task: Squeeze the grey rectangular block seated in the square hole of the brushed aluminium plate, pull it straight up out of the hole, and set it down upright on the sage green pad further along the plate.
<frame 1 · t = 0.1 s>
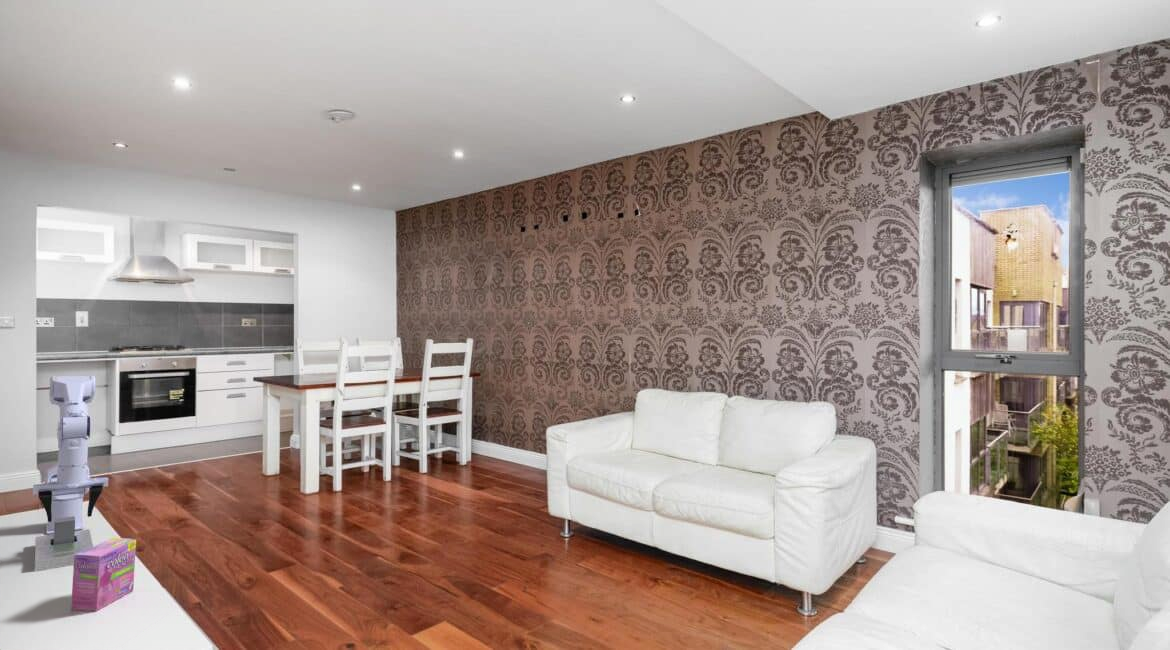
hand: (69, 518, 154), 10 cm above the table, tool pointing down, fingers open, 7 cm apart
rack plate: (63, 553, 157), on the table
box: (103, 601, 133), on the table
grey rectangular block: (63, 550, 159), resting in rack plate
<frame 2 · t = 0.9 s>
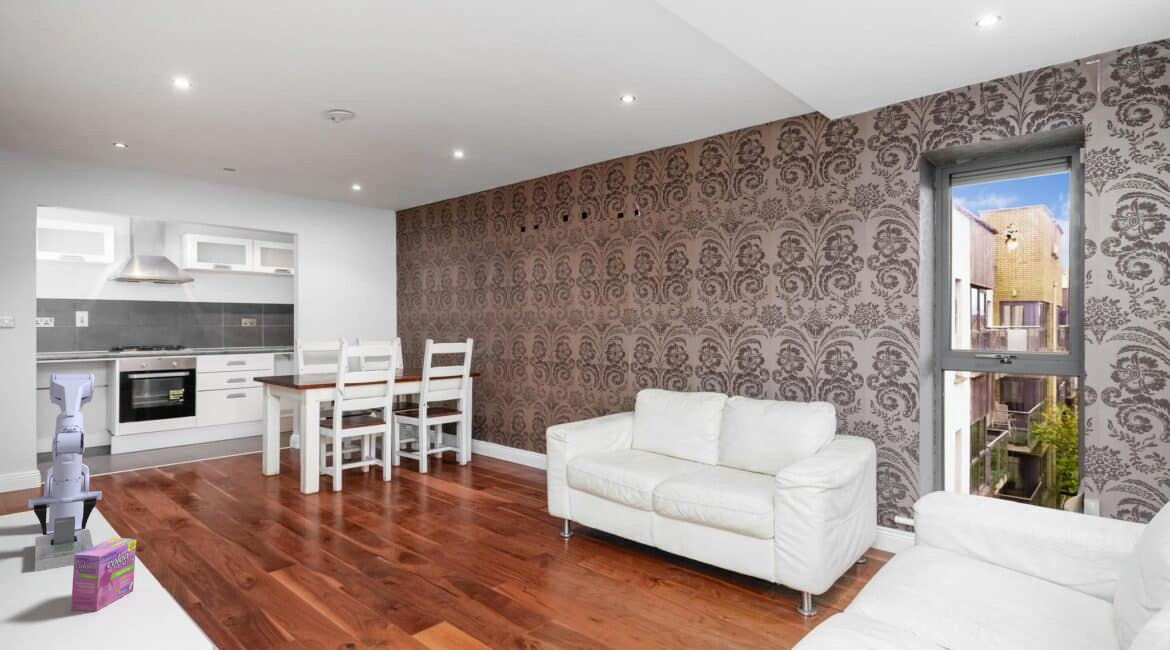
hand: (64, 530, 159), 5 cm above the table, tool pointing down, fingers open, 7 cm apart
nothing on the table moved.
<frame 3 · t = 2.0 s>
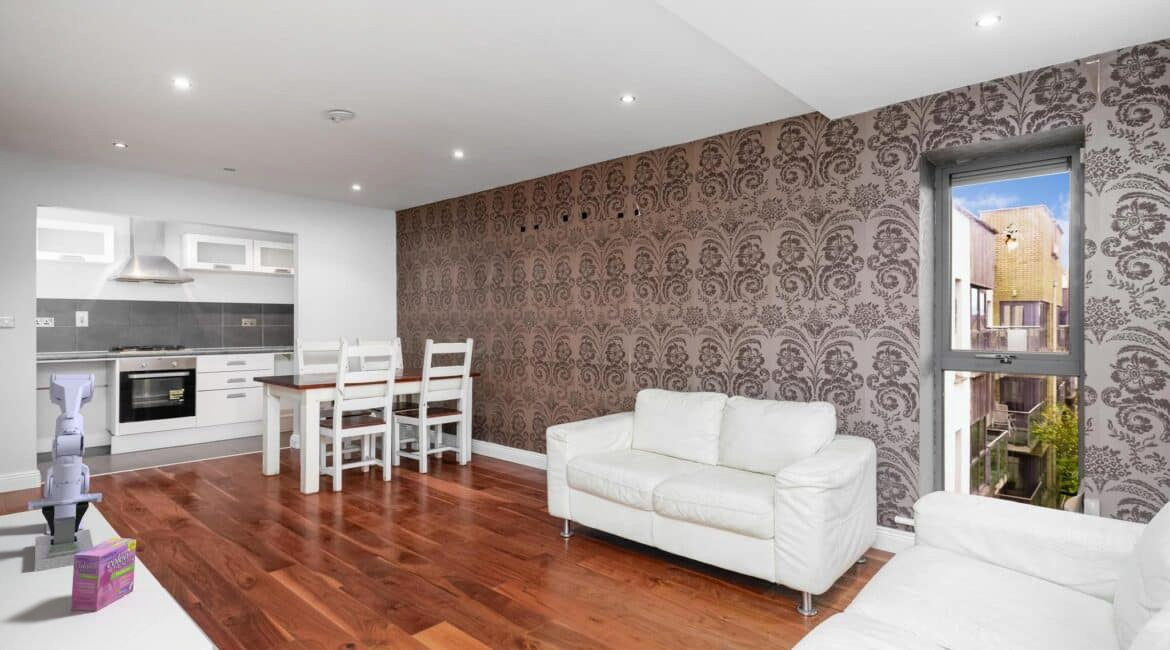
hand: (64, 533, 159), 4 cm above the table, tool pointing down, fingers closed on grey rectangular block, 4 cm apart
grey rectangular block: (63, 550, 159), resting in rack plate, touching gripper
everything else where it was.
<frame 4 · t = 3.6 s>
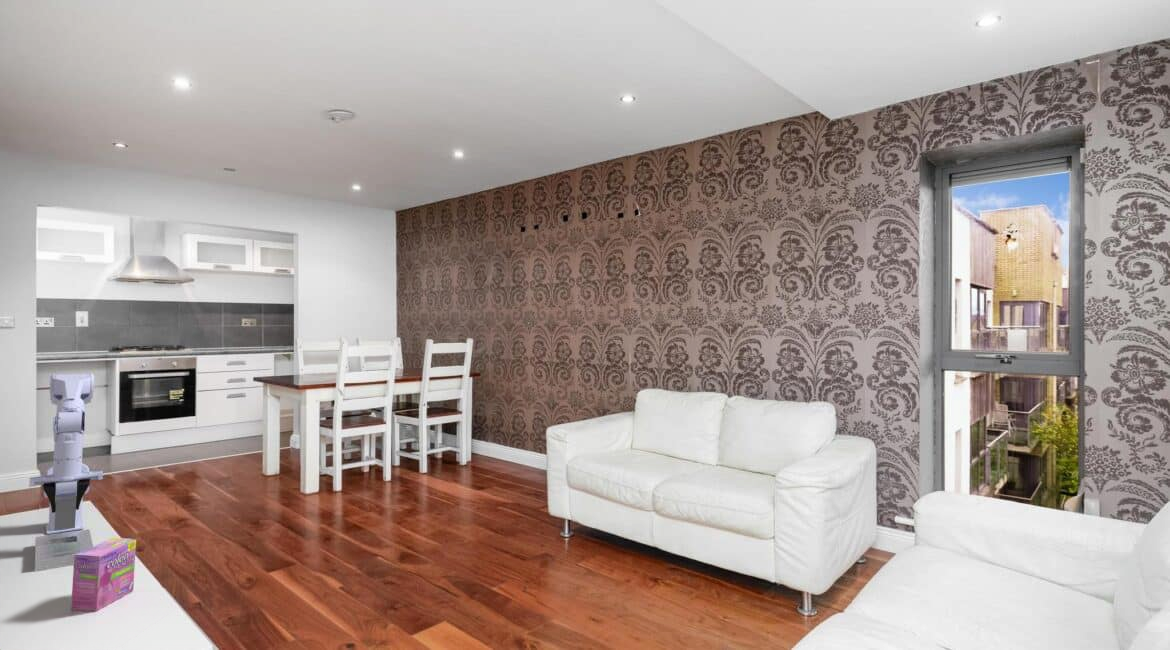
hand: (65, 510, 159), 10 cm above the table, tool pointing down, fingers closed on grey rectangular block, 4 cm apart
grey rectangular block: (64, 527, 159), point 6 cm above the table, touching gripper
everything else where it was.
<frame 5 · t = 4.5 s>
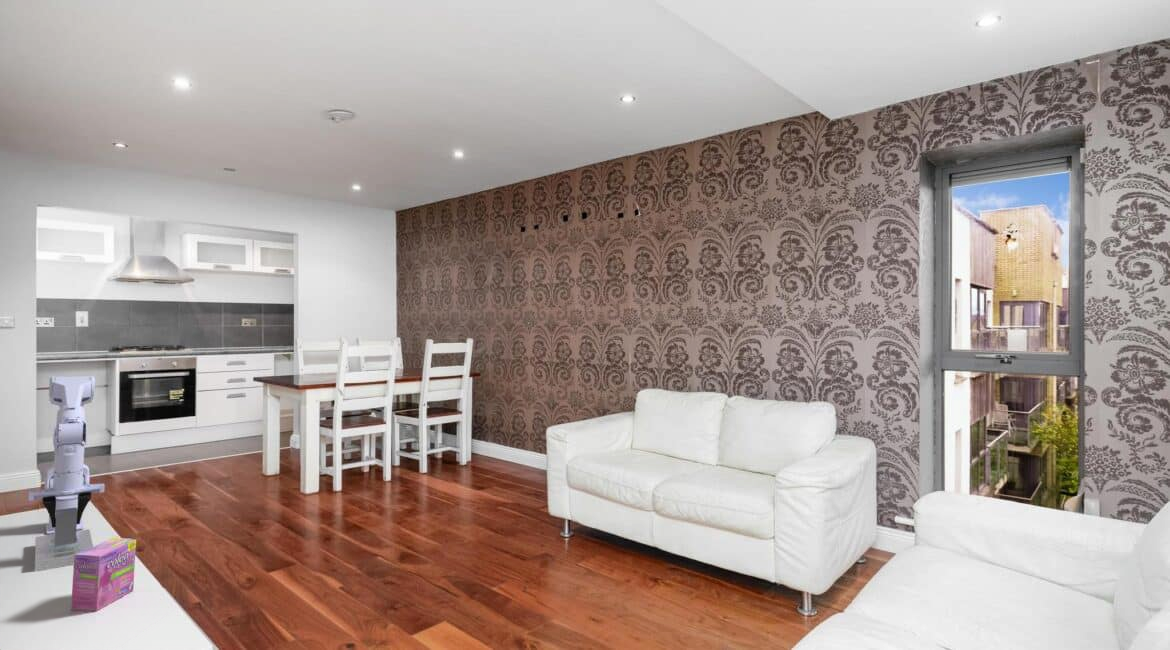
hand: (65, 524, 154), 8 cm above the table, tool pointing down, fingers closed on grey rectangular block, 4 cm apart
grey rectangular block: (64, 542, 154), point 4 cm above the table, touching gripper
everything else where it was.
when the fingers open (8 cm above the table, at t = 5.2 s): grey rectangular block drops 1 cm, resting on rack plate.
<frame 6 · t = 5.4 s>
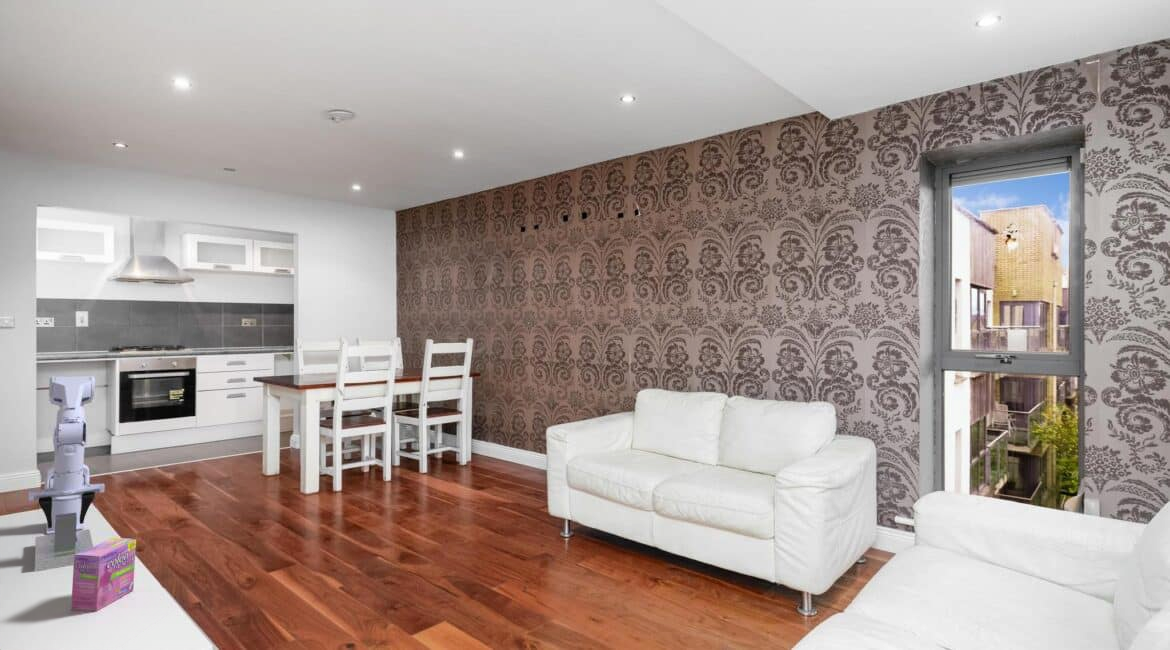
hand: (65, 524, 154), 9 cm above the table, tool pointing down, fingers open, 5 cm apart
grey rectangular block: (64, 547, 154), point 3 cm above the table, touching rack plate
everything else where it was.
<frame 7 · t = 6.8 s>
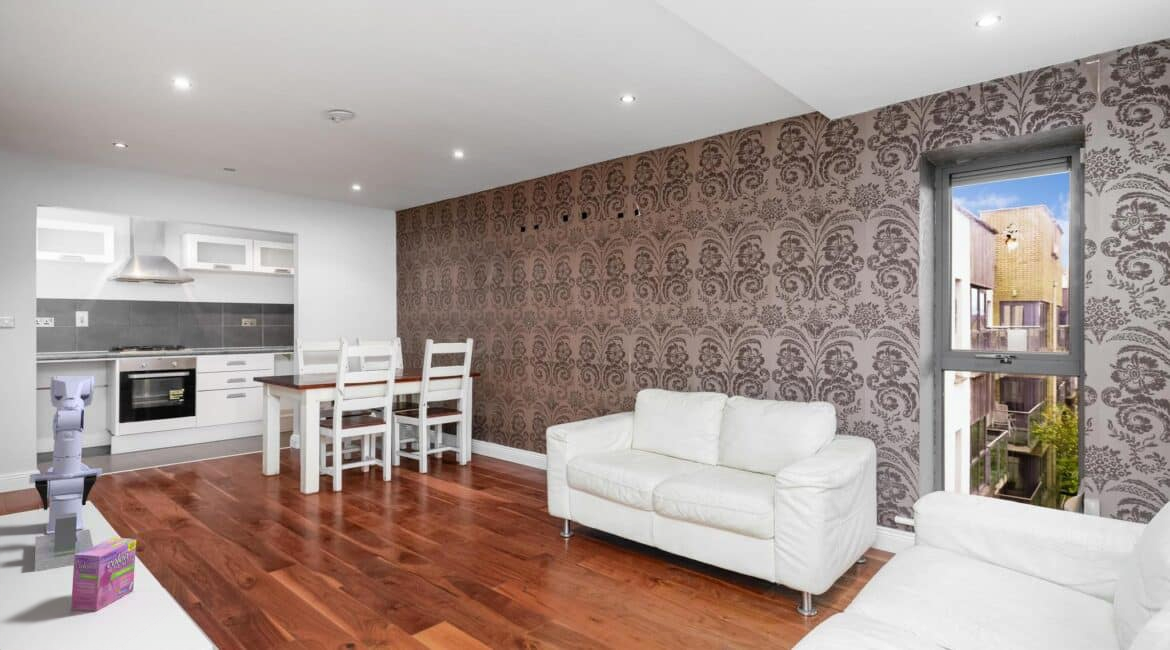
hand: (64, 506, 162), 10 cm above the table, tool pointing down, fingers open, 7 cm apart
nothing on the table moved.
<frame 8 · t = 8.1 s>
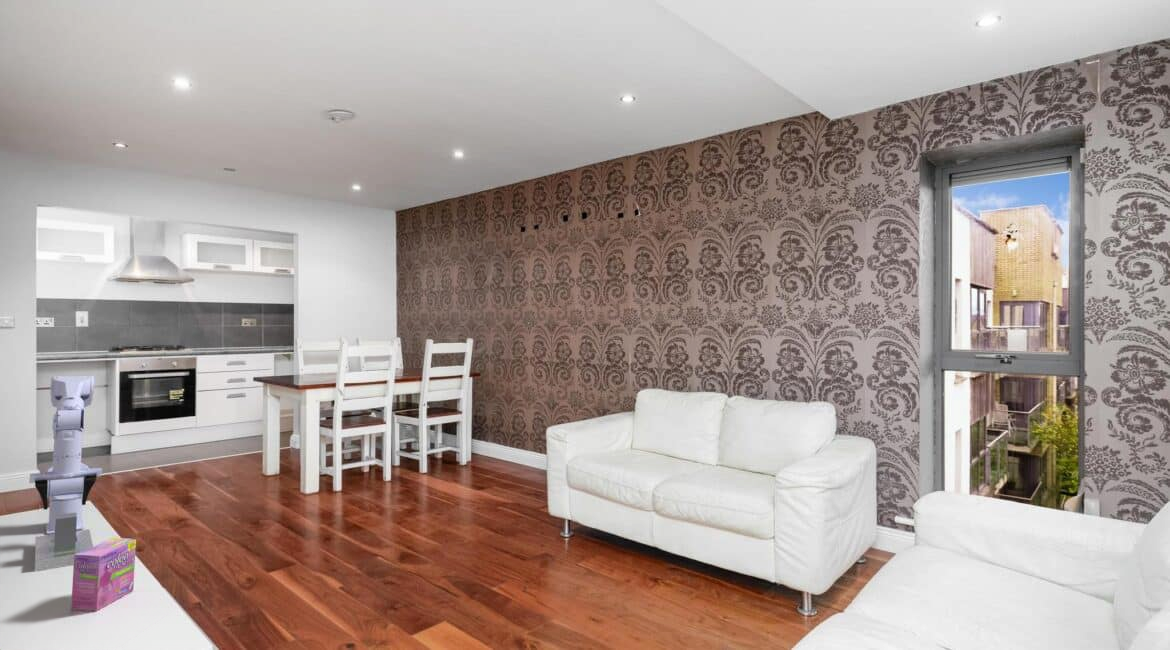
hand: (64, 506, 162), 10 cm above the table, tool pointing down, fingers open, 7 cm apart
nothing on the table moved.
at the end: grey rectangular block 0.2 cm from the target spot on the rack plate, point 2.7 cm above the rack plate's base; grey rectangular block tilted 0°; the gripper is holding nothing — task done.
